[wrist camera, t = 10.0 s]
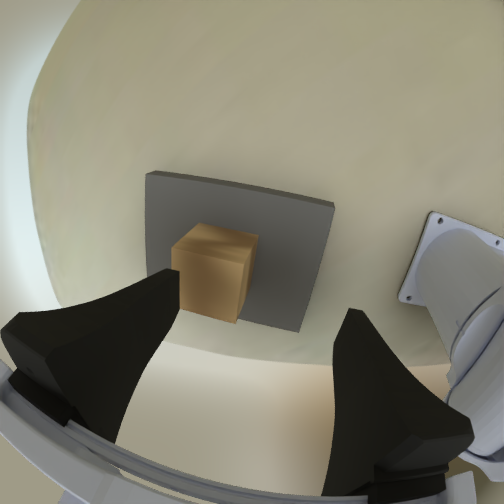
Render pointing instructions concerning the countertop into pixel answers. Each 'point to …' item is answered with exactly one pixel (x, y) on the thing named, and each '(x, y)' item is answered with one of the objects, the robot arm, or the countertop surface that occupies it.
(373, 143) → the countertop surface
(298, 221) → the charcoal mat
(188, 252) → the oak cube
